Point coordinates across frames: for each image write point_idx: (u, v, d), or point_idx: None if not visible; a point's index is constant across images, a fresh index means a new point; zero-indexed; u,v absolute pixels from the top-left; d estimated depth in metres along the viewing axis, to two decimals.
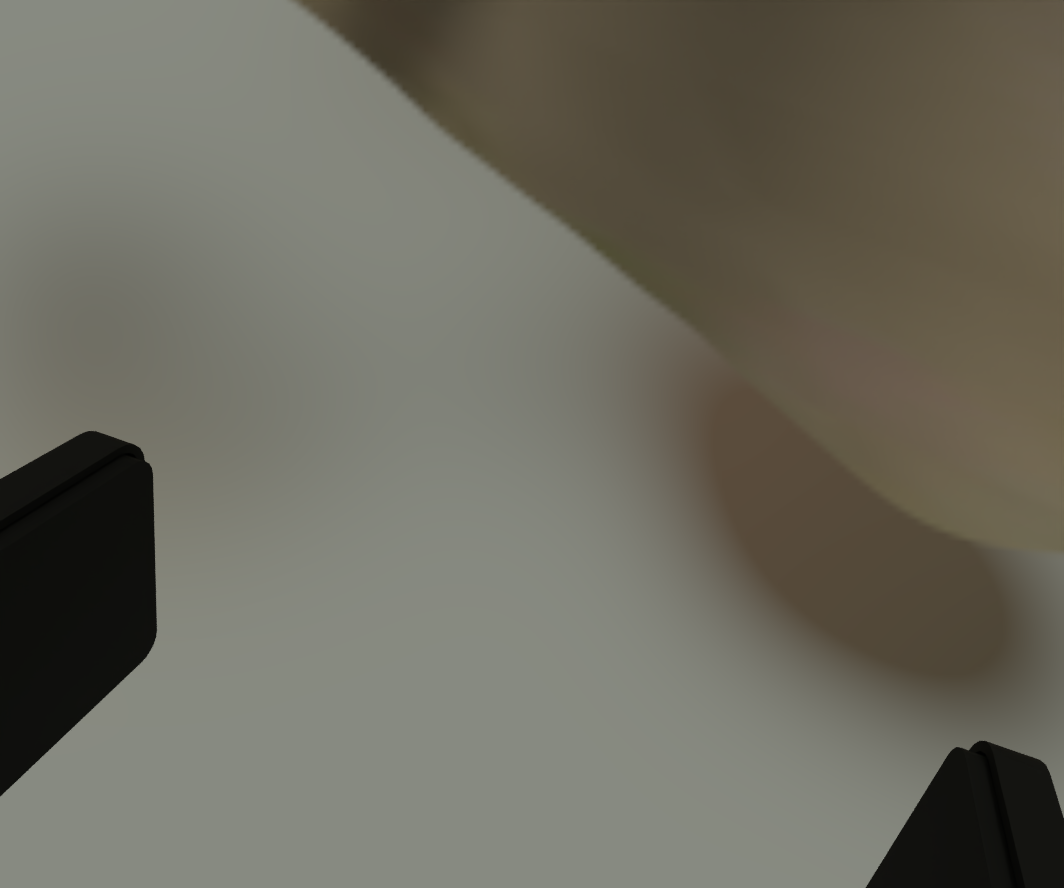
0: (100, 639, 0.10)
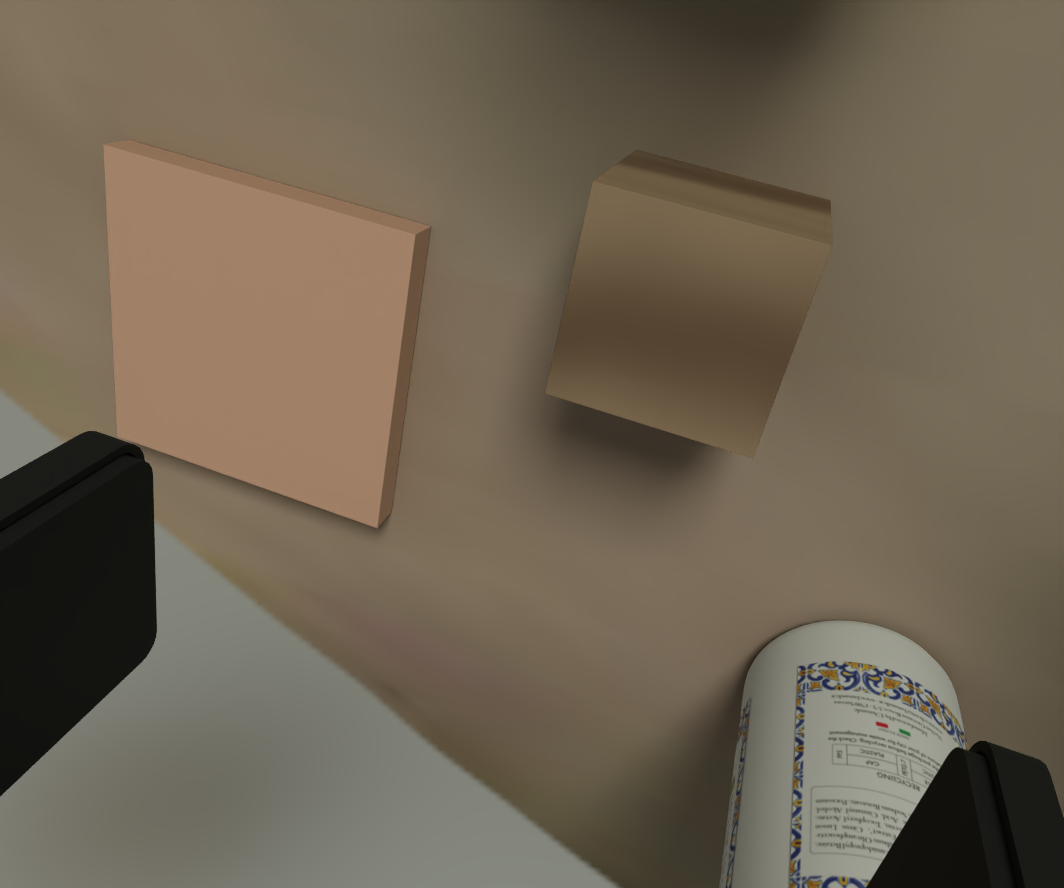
0: (100, 639, 0.10)
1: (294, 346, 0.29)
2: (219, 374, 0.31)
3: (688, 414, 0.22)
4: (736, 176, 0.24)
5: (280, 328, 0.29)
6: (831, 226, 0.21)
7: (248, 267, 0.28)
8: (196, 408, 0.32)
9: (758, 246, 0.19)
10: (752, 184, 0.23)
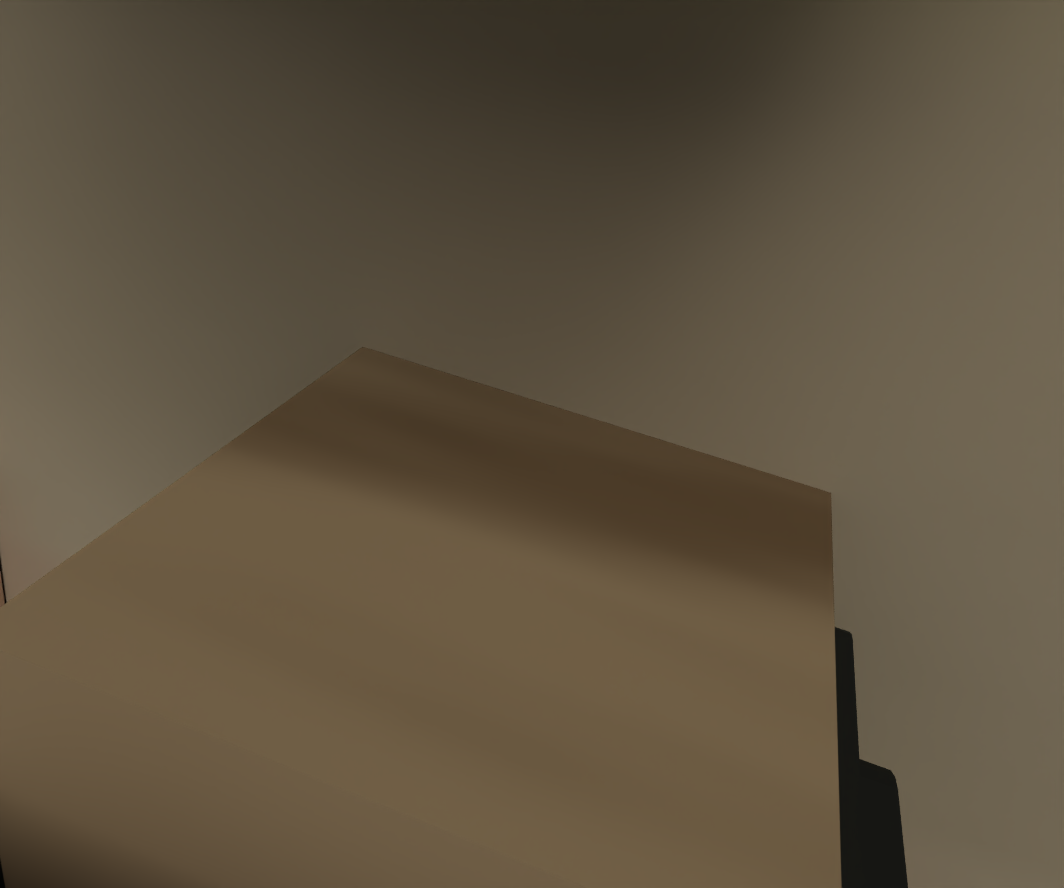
0: None
1: None
2: None
3: None
4: (595, 426, 0.10)
5: None
6: None
7: None
8: None
9: None
10: (627, 463, 0.09)
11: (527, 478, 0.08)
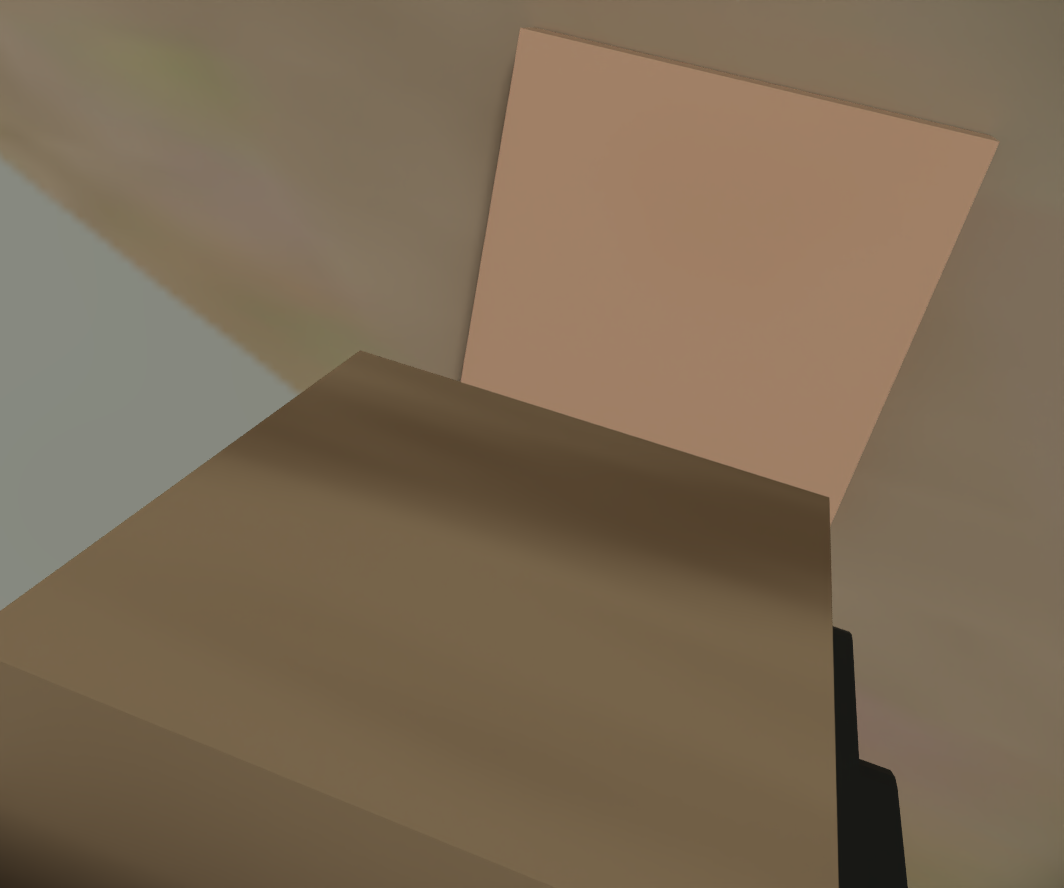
0: None
1: (756, 305, 0.22)
2: (627, 346, 0.23)
3: None
4: (593, 430, 0.09)
5: (739, 281, 0.21)
6: None
7: (709, 197, 0.21)
8: (580, 392, 0.24)
9: None
10: (625, 467, 0.09)
11: (524, 483, 0.08)
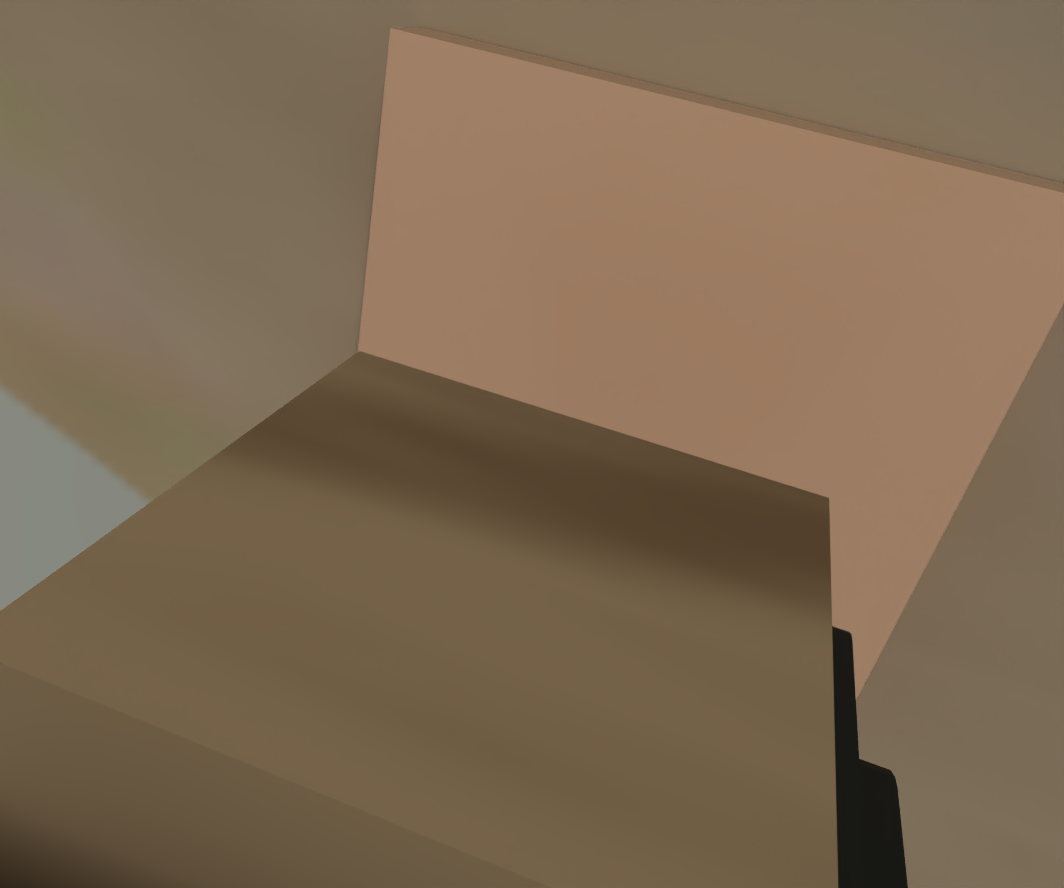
0: None
1: (740, 428, 0.15)
2: None
3: None
4: (592, 430, 0.09)
5: (716, 394, 0.15)
6: (834, 731, 0.06)
7: (671, 276, 0.14)
8: None
9: None
10: (625, 468, 0.09)
11: (524, 483, 0.08)
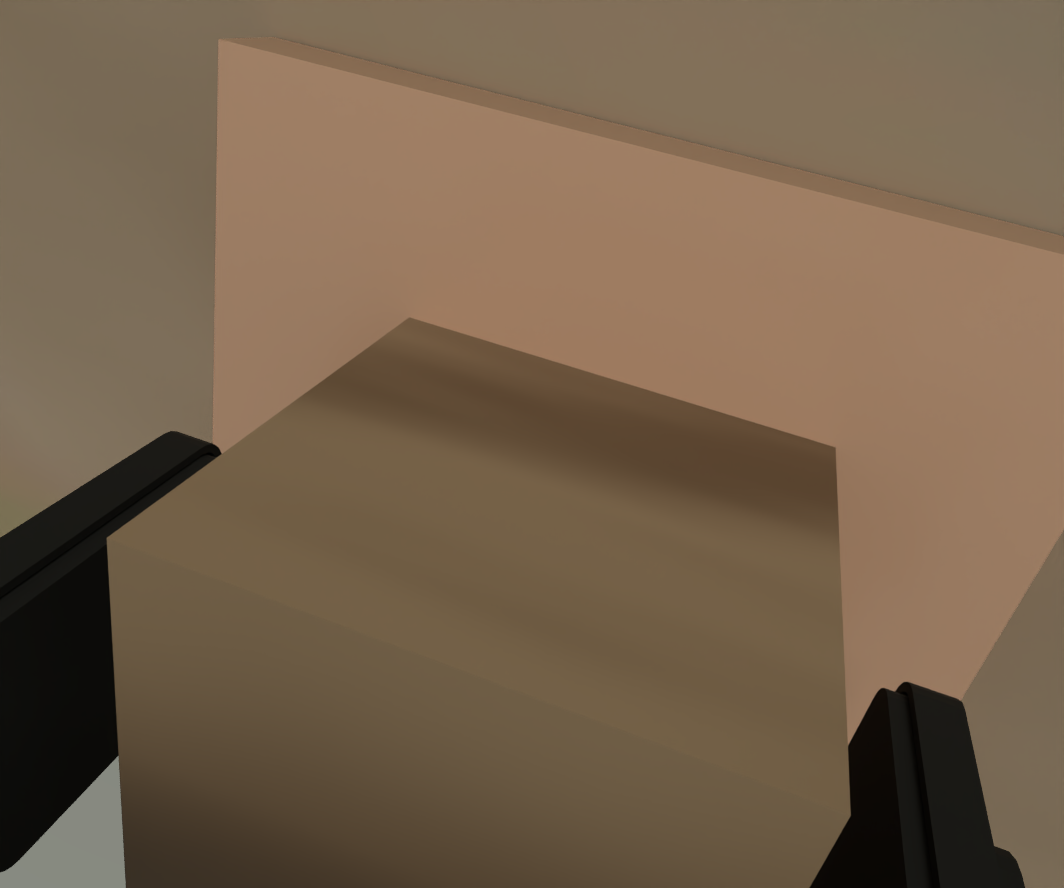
0: None
1: None
2: None
3: None
4: (622, 387, 0.11)
5: None
6: None
7: (600, 369, 0.11)
8: None
9: (610, 775, 0.06)
10: (653, 419, 0.10)
11: (565, 429, 0.09)
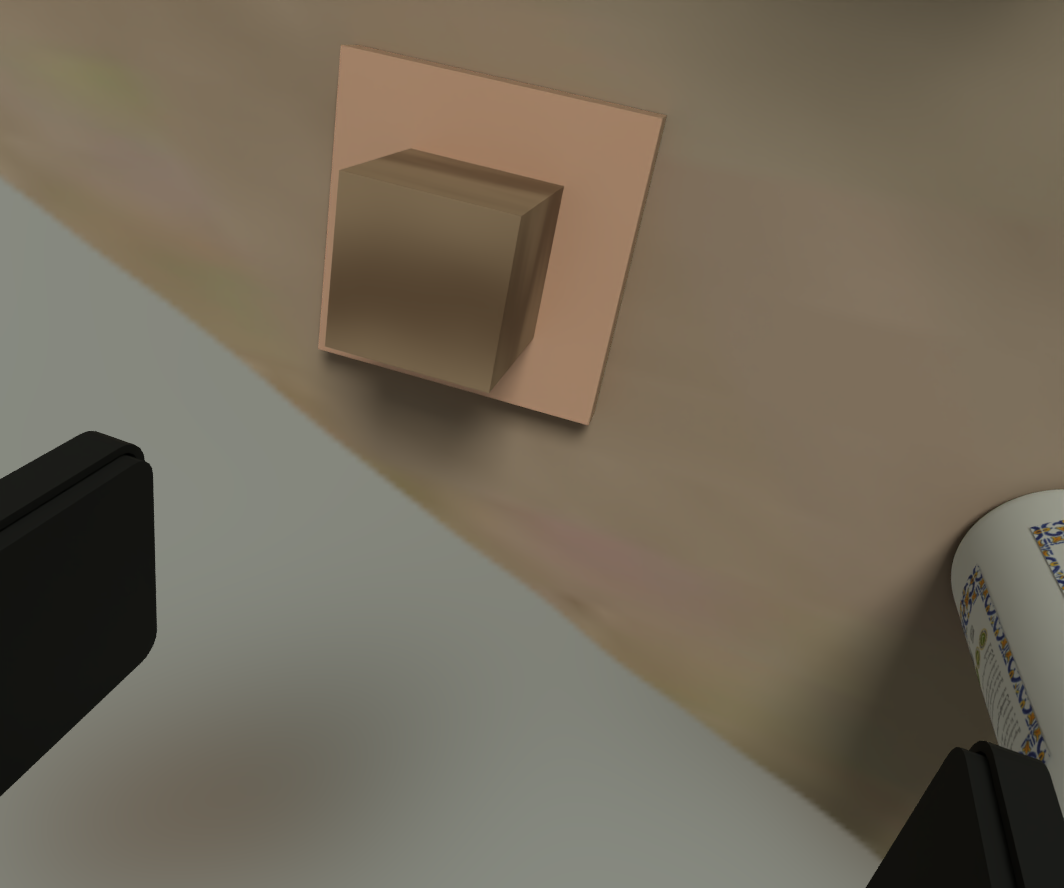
0: (100, 639, 0.10)
1: None
2: None
3: (436, 358, 0.27)
4: (489, 168, 0.29)
5: None
6: (538, 204, 0.26)
7: (481, 163, 0.29)
8: None
9: (468, 219, 0.24)
10: (497, 174, 0.29)
11: (465, 172, 0.28)
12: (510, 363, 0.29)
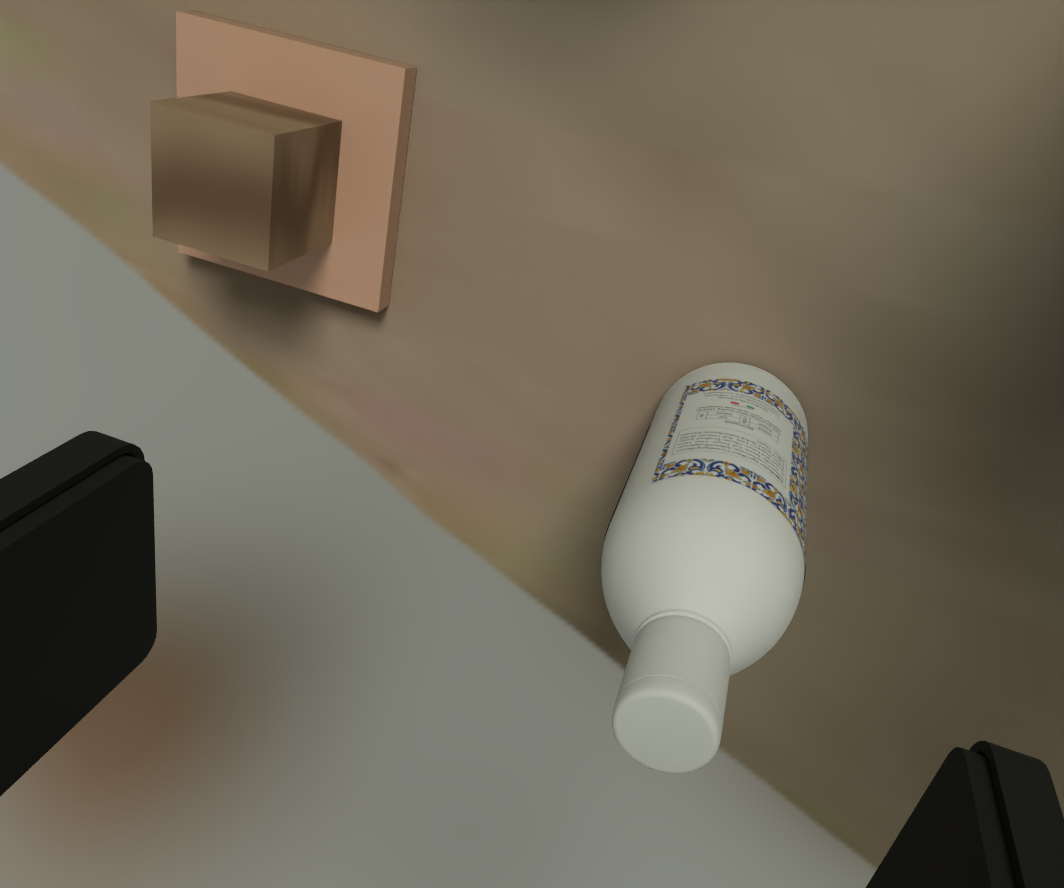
0: (100, 639, 0.10)
1: None
2: None
3: (229, 244, 0.36)
4: (287, 106, 0.38)
5: None
6: (301, 129, 0.35)
7: (282, 102, 0.38)
8: None
9: (239, 137, 0.34)
10: (290, 110, 0.38)
11: (262, 108, 0.37)
12: (297, 254, 0.38)
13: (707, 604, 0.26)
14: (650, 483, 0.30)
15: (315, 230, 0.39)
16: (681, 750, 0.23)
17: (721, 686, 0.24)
